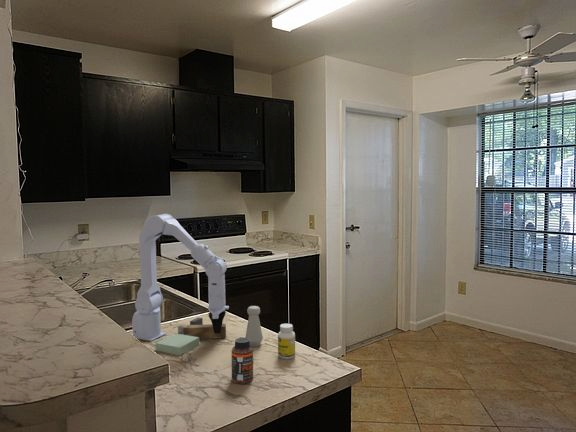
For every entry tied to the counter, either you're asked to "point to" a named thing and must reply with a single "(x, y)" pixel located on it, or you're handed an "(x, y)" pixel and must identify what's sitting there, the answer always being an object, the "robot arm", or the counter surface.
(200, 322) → the leg stop
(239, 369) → the supplement bottle
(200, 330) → the folding leg
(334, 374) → the counter surface
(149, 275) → the robot arm
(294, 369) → the counter surface
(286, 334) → the supplement bottle
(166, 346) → the stool seat
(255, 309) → the salt shaker
